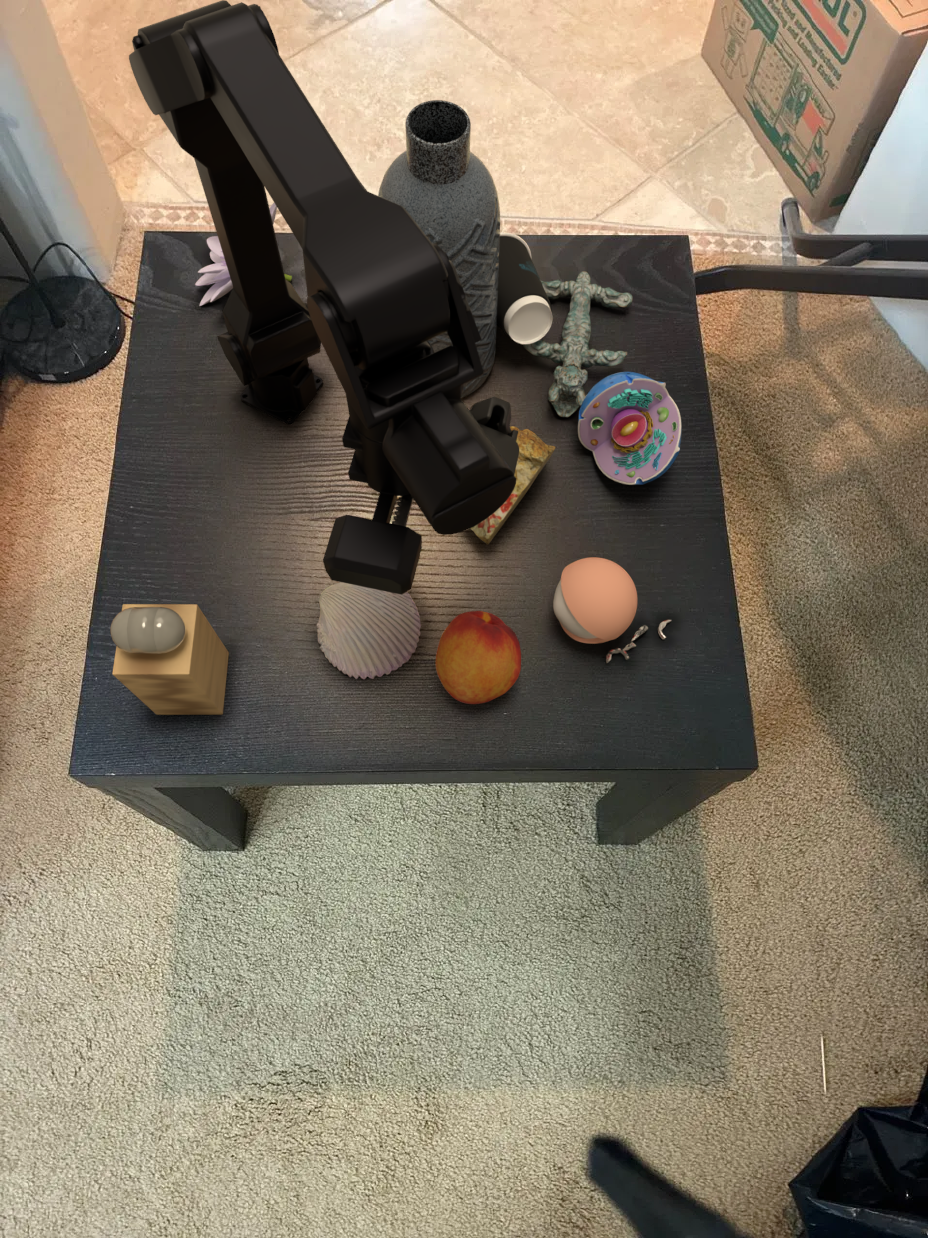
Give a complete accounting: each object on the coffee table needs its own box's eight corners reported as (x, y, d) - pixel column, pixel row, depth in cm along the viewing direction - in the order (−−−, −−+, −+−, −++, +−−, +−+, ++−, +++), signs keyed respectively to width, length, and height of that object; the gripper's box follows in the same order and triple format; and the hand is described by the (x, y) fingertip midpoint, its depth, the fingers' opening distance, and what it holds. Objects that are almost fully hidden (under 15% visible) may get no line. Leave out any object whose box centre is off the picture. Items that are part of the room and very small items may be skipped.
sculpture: (508, 416, 91) (513, 381, 87) (531, 291, 101) (536, 254, 97) (615, 432, 91) (625, 398, 87) (628, 305, 100) (637, 269, 96)
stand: (156, 715, 79) (111, 674, 68) (164, 652, 81) (122, 603, 70) (223, 714, 79) (189, 674, 68) (229, 652, 81) (197, 603, 70)
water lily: (312, 200, 99) (242, 153, 94) (336, 255, 90) (259, 206, 84) (249, 305, 106) (180, 266, 100) (264, 367, 96) (188, 328, 91)
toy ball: (537, 588, 84) (546, 551, 77) (612, 571, 85) (629, 533, 78) (561, 664, 81) (573, 633, 74) (639, 645, 82) (658, 613, 75)
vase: (412, 299, 97) (402, 50, 71) (512, 337, 96) (539, 97, 69) (362, 379, 93) (332, 146, 67) (465, 421, 91) (476, 199, 65)
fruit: (536, 667, 81) (546, 636, 74) (479, 730, 79) (484, 704, 72) (473, 615, 83) (476, 580, 76) (415, 675, 81) (413, 644, 73)
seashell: (347, 542, 82) (433, 583, 79) (361, 573, 87) (443, 613, 83) (281, 625, 79) (369, 673, 75) (300, 653, 83) (383, 699, 80)
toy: (680, 629, 82) (668, 611, 83) (612, 667, 80) (600, 647, 81) (675, 633, 84) (663, 615, 84) (608, 670, 81) (596, 651, 82)
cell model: (633, 520, 88) (582, 477, 81) (596, 440, 95) (547, 395, 88) (719, 462, 84) (673, 411, 77) (674, 383, 90) (628, 330, 84)
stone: (116, 660, 69) (100, 643, 65) (123, 617, 70) (107, 599, 67) (188, 659, 69) (175, 643, 65) (193, 617, 70) (180, 599, 67)
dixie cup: (497, 366, 91) (466, 308, 98) (568, 344, 92) (533, 288, 98) (489, 300, 85) (457, 243, 91) (566, 277, 85) (528, 222, 92)
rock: (496, 548, 91) (498, 551, 81) (424, 507, 91) (417, 505, 81) (553, 449, 90) (562, 440, 80) (480, 407, 90) (480, 393, 80)
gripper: (485, 558, 53) (475, 647, 67) (539, 319, 60) (520, 446, 74) (307, 521, 53) (335, 618, 68) (381, 289, 60) (392, 422, 75)
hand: (402, 522), depth 71 cm, fingers open, 9 cm apart
